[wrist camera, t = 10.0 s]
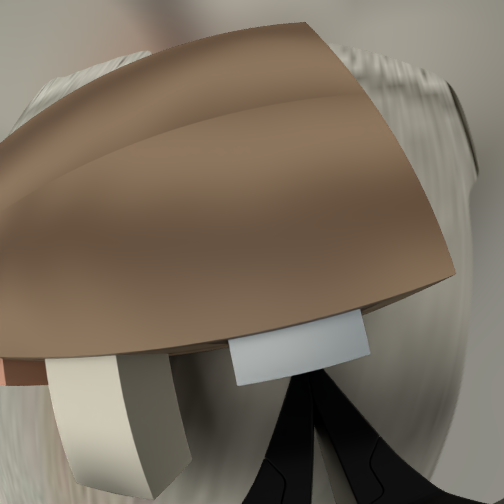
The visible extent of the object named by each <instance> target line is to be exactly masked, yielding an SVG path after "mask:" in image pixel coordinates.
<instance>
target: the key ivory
mask: <svg viewBox="0 0 504 504" xmlns="http://www.w3.org/2000/svg"><path fill="white" fill-rule="evenodd" d="M45 364H46V371H47V378H48V384H49V390H50V395H51V400H52V405H53V410H54V414H55V418H56V422H57V426H58V430H59V434H60V437H61V441H62V444H63V447H64V451H65V454H66V457H67V460H68V463H69V465H70V468H71V471H72V474H73V476H74V479H75V481H76V483H77V484H81V485H84V486H88V487H91V488H95V489H99V490H103V491H107V492H111V493H115V494H120V495H125V496H131V497H136V498H142V499H149V500H155V499H156V498H157V497H158V496H159V495H160V494H161V493H162V492H163V491H164V490H165V489H166V488H167V487H168V486H169V485H170V484H171V483H172V482H173V480H174V479H175V478H176V477H177V476H178V475H179V474H180V473H181V472H182V471H183V470H184V469H185V468H186V467H187V466H188V464H189V463H190V462H191V461H192V456H191V453H190V449H189V446H188V442H187V438H186V435H185V431H184V427H183V423H182V419H181V414H180V410H179V406H178V401H177V397H176V392H175V387H174V382H173V377H172V372H171V367H170V361H169V356H168V354H142V355H112V356H99V357H83V358H60V359H45Z"/></svg>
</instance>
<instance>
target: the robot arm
mask: <svg viewBox="0 0 504 504" xmlns="http://www.w3.org/2000/svg"><path fill="white" fill-rule="evenodd" d="M314 428H315V431H316V435H317V438H318V442H319V445H320V449H321V452H322V456H323V459H324V463H325V466H326V470H327V473H328V477H329V480H330V484H331V487H332V491H333V494H334V498H335V501H336V504H487V503H482V502H478V501H474V500H470V499H466V498H463V497H459V496H456V495H453V494H449V493H447V492H445V491H443V490H441V489H439V488H438V487H436V486H435V485H433V484H432V483H431V482H429V481H428V480H427V479H426V478H424V477H423V476H422V475H421V474H419V473H418V472H417V471H416V470H415V469H413V468H412V467H411V466H410V465H408V464H407V463H406V462H405V461H404V460H403V459H402V458H401V457H399V456H398V455H397V454H396V453H395V452H394V450H393V449H392V448H391V447H390V446H389V445H388V444H387V443H386V442H385V441H384V440H383V438H382V437H379V434H378V433H377V432H376V430H375V429H374V428H373V427H372V426H371V425H370V424H369V422H368V421H367V420H366V419H365V418H364V417H363V415H362V414H361V413H360V412H359V411H358V409H357V408H356V407H355V406H354V405H353V404H352V402H351V401H350V400H349V399H348V398H347V397H346V395H345V394H344V393H343V392H342V391H341V389H340V388H339V387H338V386H337V385H336V383H335V382H334V381H333V380H332V379H331V378H330V376H329V375H328V374H327V373H326V372H325V370H324V369H323V368H322V369H318V370H314V371H310V372H306V373H302V374H297V375H293V376H291V379H290V383H289V386H288V389H287V392H286V396H285V399H284V402H283V405H282V408H281V411H280V414H279V417H278V420H277V423H276V426H275V429H274V432H273V435H272V438H271V440H270V443H269V446H268V449H267V451H266V454H265V459H263V462H262V464H261V467H260V469H259V472H258V474H257V476H256V479H255V481H254V483H253V485H252V487H251V488H250V490H249V492H248V494H247V496H246V497H245V499H244V501H243V502H242V504H312V490H313V463H314ZM494 504H504V499H502V500H500V501H498V502H496V503H494Z"/></svg>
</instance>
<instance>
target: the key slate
mask: <svg viewBox="0 0 504 504" xmlns="http://www.w3.org/2000/svg"><path fill="white" fill-rule="evenodd" d="M228 342H229V347H230V352H231V357H232V362H233V367H234V372H235V376H236V381H237V386H241V385H247V384H253V383H258V382H264V381H269V380H274V379H279V378H284V377H288V376H293V375H297V374H302V373H306V372H310V371H314V370H318V369H322V368H326V367H329V366H333V365H337V364H340V363H344V362H347V361H350V360H354V359H357V358H360V357H363V356H366V355H369V354H370V349H369V344H368V340H367V336H366V331H365V327H364V323H363V319H362V315H361V311H360V309H358V310H354V311H351V312H347V313H344V314H340V315H337V316H333V317H329V318H325V319H322V320H318V321H314V322H310V323H306V324H302V325H297V326H293V327H289V328H285V329H280V330H276V331H271V332H266V333H262V334H257V335H252V336H247V337H242V338H237V339H231V340H228Z"/></svg>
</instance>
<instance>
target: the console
mask: <svg viewBox="0 0 504 504" xmlns="http://www.w3.org/2000/svg"><path fill="white" fill-rule="evenodd" d="M455 274H456V272H455V269H454V266H453V263H452V259H451V257H450V254H449V251H448V248H447V245H446V242H445V240H444V237H443V234H442V232H441V229H440V227H439V224H438V222H437V219H436V217H435V214H434V212H433V210H432V208H431V205H430V203H429V201H428V199H427V196H426V194H425V192H424V190H423V188H422V186H421V184H420V182H419V180H418V178H417V176H416V174H415V172H414V170H413V168H412V166H411V164H410V162H409V161H408V159H407V157H406V155H405V153H404V152H403V150H402V148H401V146H400V145H399V143H398V141H397V139H396V138H395V136H394V134H393V133H392V131H391V130H390V128H389V126H388V125H387V123H386V122H385V120H384V119H383V117H382V115H381V114H380V112H379V111H378V109H377V108H376V107H375V105H374V104H373V102H372V101H371V99H370V98H369V97H368V95H367V94H366V92H365V91H364V90H363V88H362V87H361V86H360V84H359V83H358V82H357V80H356V79H355V78H354V76H353V75H352V74H351V73H350V71H349V70H348V69H347V68H346V66H345V65H344V64H343V63H342V62H341V60H340V59H339V58H338V57H337V56H336V54H335V53H334V52H333V51H332V50H331V49H330V48H329V46H328V45H327V44H326V43H325V42H324V41H323V40H322V39H321V38H320V37H319V36H318V34H317V33H315V31H314V30H313V29H312V28H311V27H310V26H309V25H308V24H307V23H306V22H300V23H288V24H278V25H270V26H263V27H256V28H249V29H244V30H238V31H233V32H228V33H224V34H219V35H215V36H211V37H207V38H203V39H200V40H196V41H192V42H188V43H185V44H182V45H178V46H175V47H172V48H169V49H166V50H163V51H161V52H158V53H155V54H152V55H150V56H147V57H144V58H142V59H139V60H137V61H134V62H132V63H130V64H127V65H125V66H123V67H120V68H118V69H116V70H114V71H112V72H110V73H108V74H105V75H103V76H101V77H99V78H97V79H95V80H94V81H92V82H90V83H88V84H86V85H84V86H82V87H80V88H79V89H77V90H75V91H73V92H72V93H70V94H68V95H67V96H65V97H63V98H62V99H60V100H58V101H57V102H55V103H54V104H52V105H51V106H49V107H48V108H46V109H45V110H43V111H42V112H40V113H39V114H37V115H36V116H34V117H33V118H32V119H30V120H29V121H28V122H26V123H25V124H24V125H22V126H21V127H20V128H18V129H17V130H16V131H14V132H13V133H12V134H11V135H9V136H8V137H7V138H6V139H5V140H3V141H2V142H1V143H0V358H2V359H13V360H26V361H43V362H45V359H60V358H83V357H99V356H112V355H142V354H168V356H175V355H183V354H190V353H197V352H204V351H210V350H216V349H222V348H228V347H229V342H228V340H231V339H237V338H242V337H247V336H252V335H257V334H262V333H266V332H271V331H276V330H280V329H285V328H289V327H293V326H297V325H302V324H306V323H310V322H314V321H318V320H322V319H325V318H329V317H333V316H337V315H340V314H344V313H347V312H351V311H354V310H358V309H360V311H361V315H364V314H367V313H370V312H372V311H375V310H377V309H380V308H382V307H385V306H387V305H389V304H392V303H394V302H397V301H399V300H401V299H404V298H406V297H408V296H411V295H413V294H415V293H417V292H419V291H422V290H424V289H426V288H428V287H430V286H432V285H435V284H437V283H439V282H441V281H443V280H445V279H447V278H449V277H451V276H453V275H455Z"/></svg>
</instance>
